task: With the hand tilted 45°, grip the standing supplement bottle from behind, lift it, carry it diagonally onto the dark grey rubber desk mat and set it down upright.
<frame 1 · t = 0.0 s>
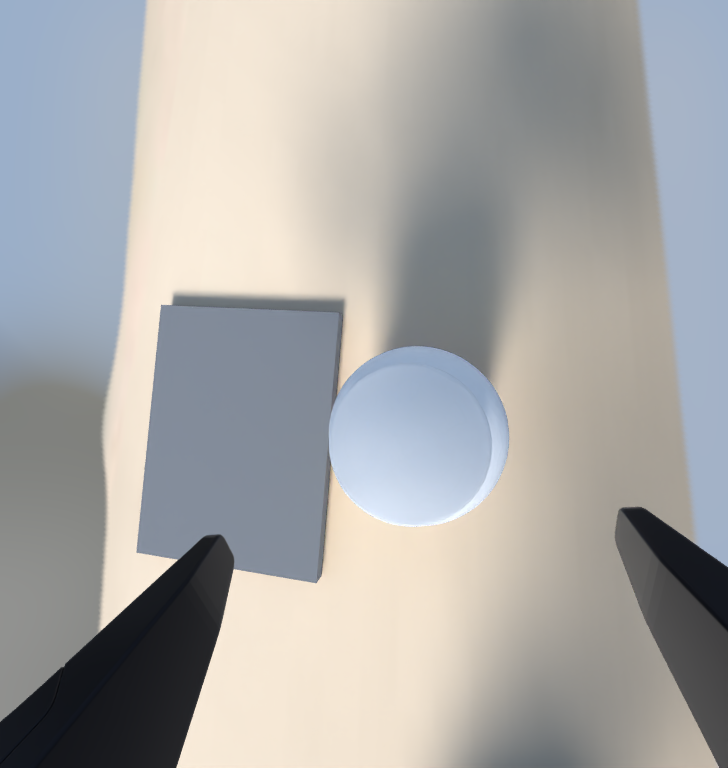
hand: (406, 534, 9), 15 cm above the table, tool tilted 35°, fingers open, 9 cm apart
supplement bottle: (424, 422, 24), on the table
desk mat: (242, 435, 26), on the table
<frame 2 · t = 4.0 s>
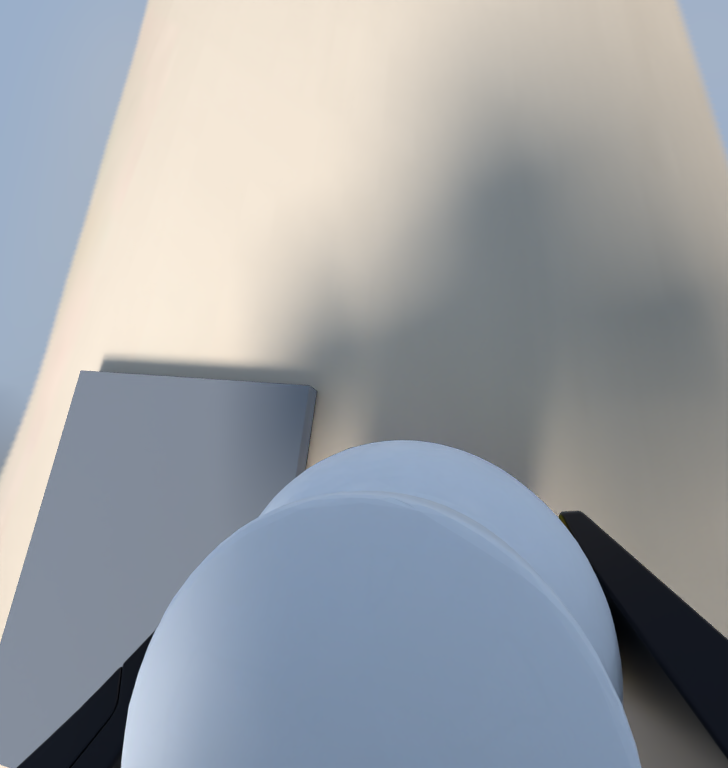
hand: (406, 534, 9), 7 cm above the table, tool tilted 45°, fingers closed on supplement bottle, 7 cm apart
supplement bottle: (430, 554, 16), on the table, touching gripper
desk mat: (160, 559, 18), on the table
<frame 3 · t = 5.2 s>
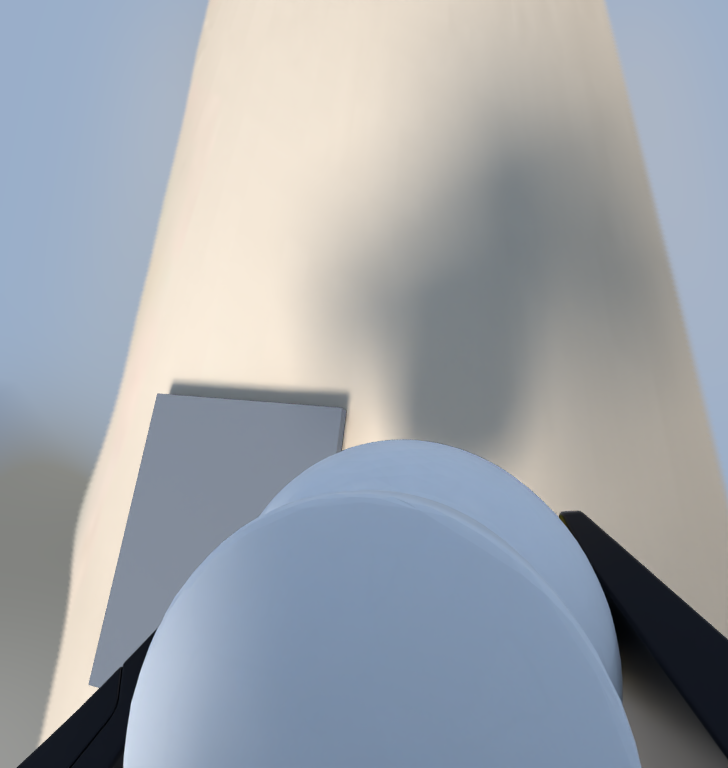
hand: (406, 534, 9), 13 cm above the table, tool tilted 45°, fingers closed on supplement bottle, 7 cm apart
supplement bottle: (430, 554, 16), point 5 cm above the table, touching gripper
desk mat: (227, 540, 23), on the table
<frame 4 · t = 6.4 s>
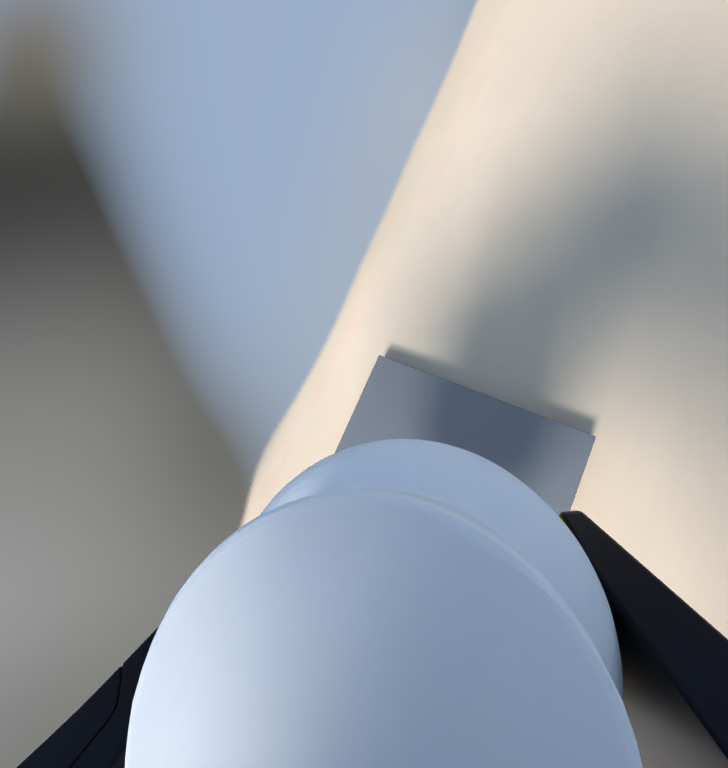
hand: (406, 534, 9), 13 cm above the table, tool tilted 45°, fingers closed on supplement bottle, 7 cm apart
supplement bottle: (430, 553, 16), point 6 cm above the table, touching gripper
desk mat: (422, 532, 22), on the table
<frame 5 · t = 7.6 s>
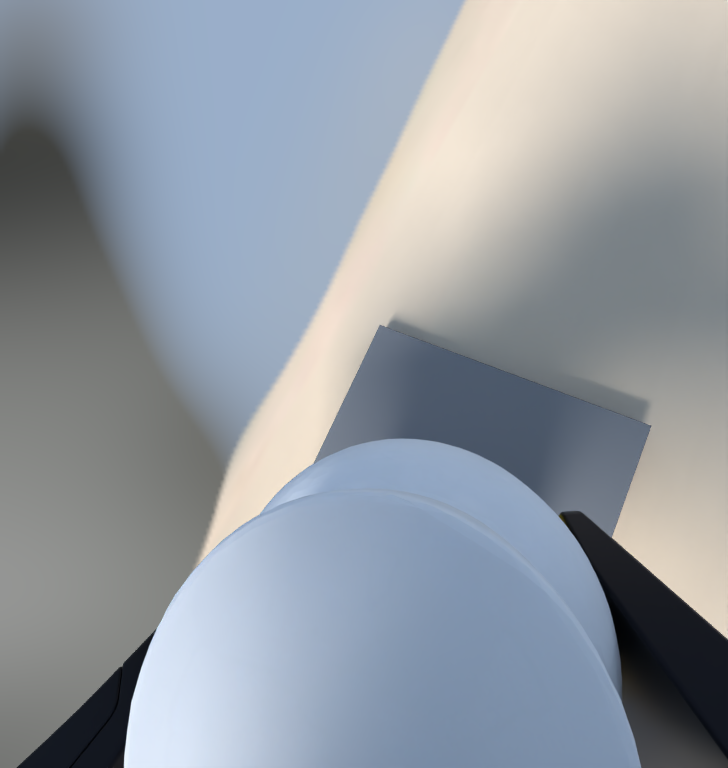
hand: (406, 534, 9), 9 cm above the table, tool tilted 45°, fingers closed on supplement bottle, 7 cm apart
supplement bottle: (430, 553, 16), point 2 cm above the table, touching gripper
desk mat: (430, 541, 18), on the table
when the fingers open (9 cm above the table, at t = 8.3 s): supplement bottle stays where it is, resting on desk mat.
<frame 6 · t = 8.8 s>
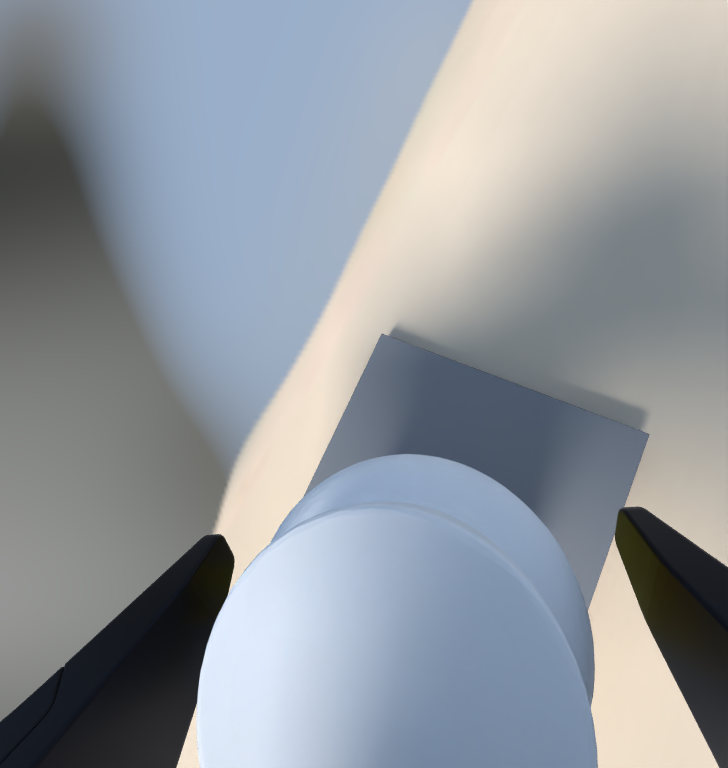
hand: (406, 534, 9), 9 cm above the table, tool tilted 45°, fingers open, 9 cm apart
supplement bottle: (431, 554, 17), point 1 cm above the table, touching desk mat
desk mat: (431, 547, 18), on the table
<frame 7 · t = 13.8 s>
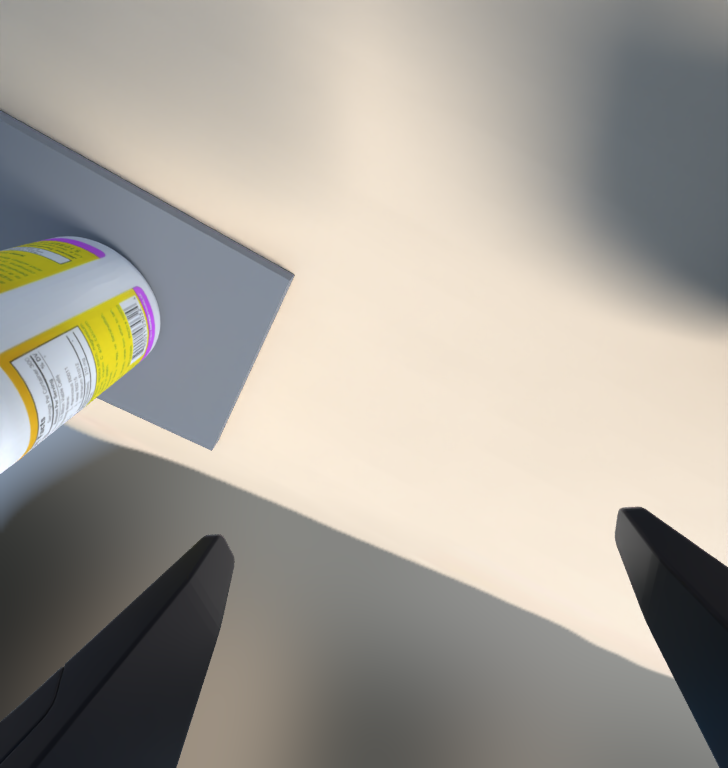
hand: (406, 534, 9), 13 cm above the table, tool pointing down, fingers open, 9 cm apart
supplement bottle: (104, 301, 21), point 1 cm above the table, touching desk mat
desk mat: (111, 297, 21), on the table
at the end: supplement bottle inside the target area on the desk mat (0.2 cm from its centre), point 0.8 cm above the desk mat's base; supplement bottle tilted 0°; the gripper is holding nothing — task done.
